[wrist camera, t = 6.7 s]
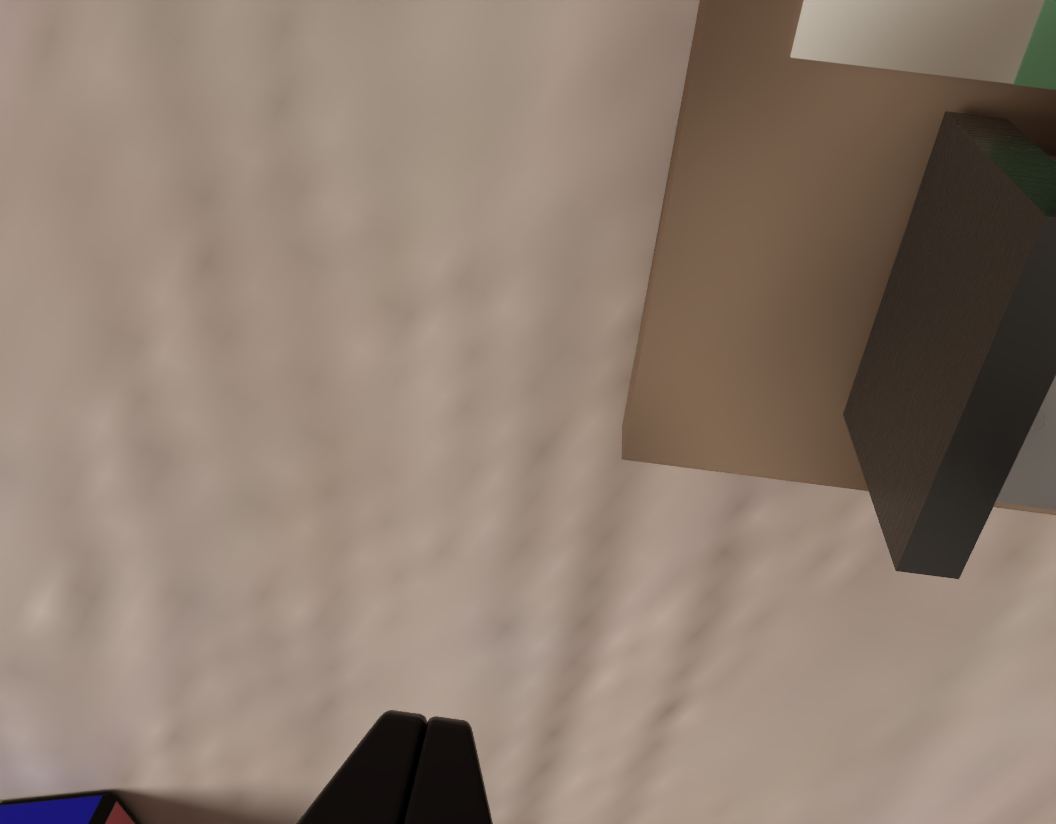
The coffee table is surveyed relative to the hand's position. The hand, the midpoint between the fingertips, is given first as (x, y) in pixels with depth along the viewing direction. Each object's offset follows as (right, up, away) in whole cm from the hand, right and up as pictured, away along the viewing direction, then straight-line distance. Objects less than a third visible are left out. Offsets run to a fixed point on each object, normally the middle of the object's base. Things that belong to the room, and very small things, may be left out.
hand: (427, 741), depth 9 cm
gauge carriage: (+10, +7, +7) cm, 14 cm away
